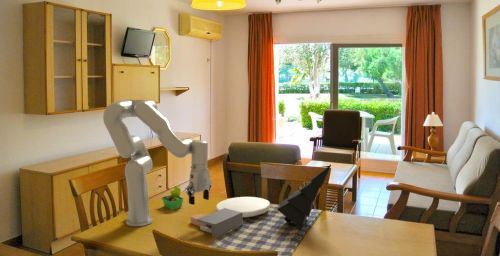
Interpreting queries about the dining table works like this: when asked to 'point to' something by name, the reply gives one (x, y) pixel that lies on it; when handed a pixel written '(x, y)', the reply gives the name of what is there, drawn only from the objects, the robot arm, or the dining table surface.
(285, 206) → the decorative tree
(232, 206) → the plate
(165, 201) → the fruit basket
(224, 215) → the grey block with tab
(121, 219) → the dining table surface
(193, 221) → the slab
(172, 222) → the dining table surface
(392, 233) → the dining table surface
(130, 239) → the dining table surface
